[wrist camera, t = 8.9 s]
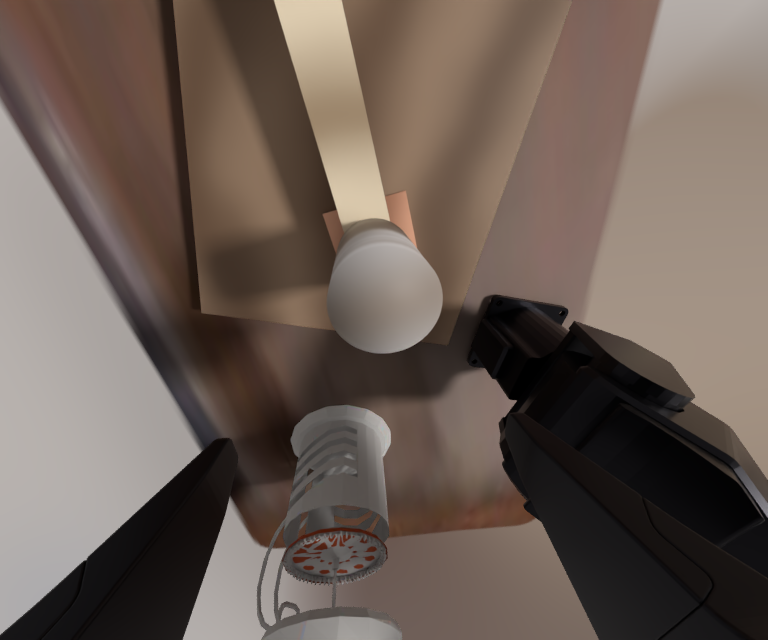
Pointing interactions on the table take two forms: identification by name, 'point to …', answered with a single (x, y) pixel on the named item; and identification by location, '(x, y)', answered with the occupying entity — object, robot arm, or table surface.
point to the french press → (334, 523)
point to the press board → (389, 135)
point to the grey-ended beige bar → (357, 192)
